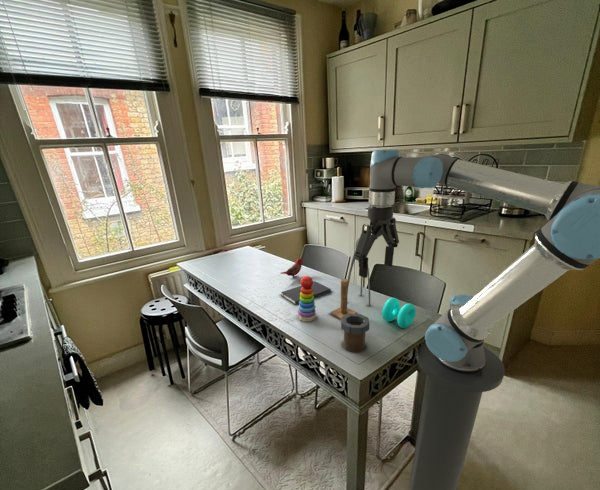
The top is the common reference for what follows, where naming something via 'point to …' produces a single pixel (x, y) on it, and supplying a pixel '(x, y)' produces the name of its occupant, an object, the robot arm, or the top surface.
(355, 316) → the gray octagonal ring
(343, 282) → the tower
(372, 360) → the top surface
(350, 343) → the stand
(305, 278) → the stacking toy
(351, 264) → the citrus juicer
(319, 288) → the notebook
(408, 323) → the teal toy dumbbell
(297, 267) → the decorative bird figurine
